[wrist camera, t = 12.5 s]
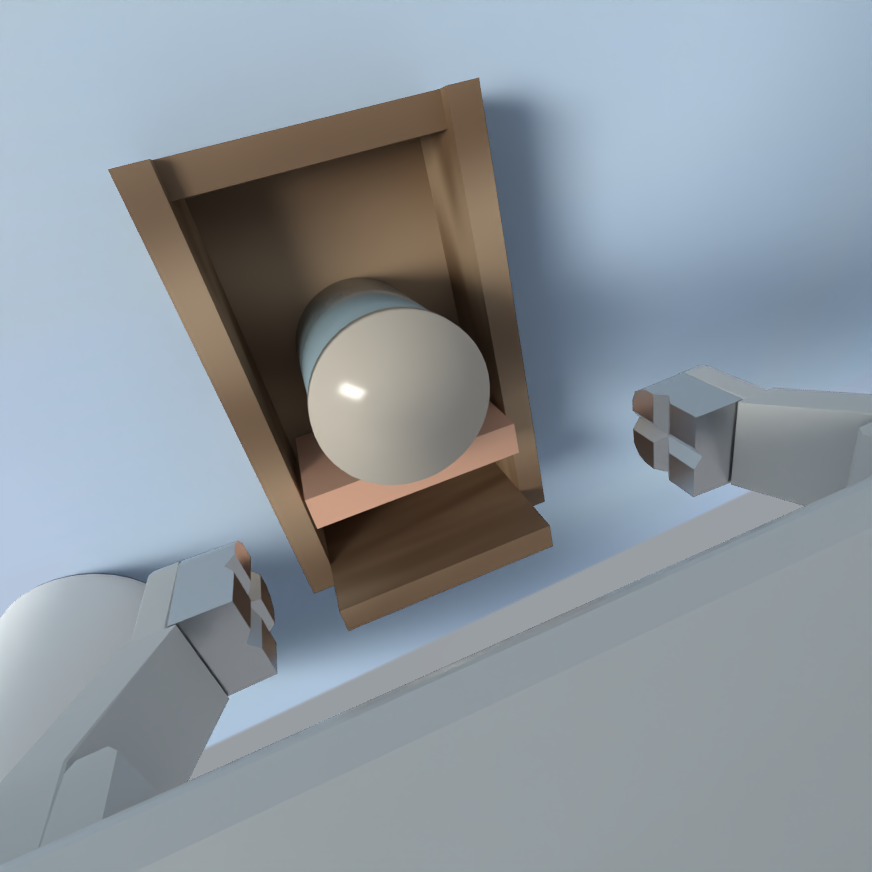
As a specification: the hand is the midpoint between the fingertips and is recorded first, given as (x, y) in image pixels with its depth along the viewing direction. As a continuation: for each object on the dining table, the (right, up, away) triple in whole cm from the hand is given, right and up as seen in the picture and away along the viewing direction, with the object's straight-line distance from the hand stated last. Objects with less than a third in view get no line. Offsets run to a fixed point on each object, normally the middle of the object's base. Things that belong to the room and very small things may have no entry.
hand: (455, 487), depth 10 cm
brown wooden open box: (-3, +5, +11) cm, 12 cm away
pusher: (-2, +2, +11) cm, 12 cm away
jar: (-3, +5, +10) cm, 11 cm away
